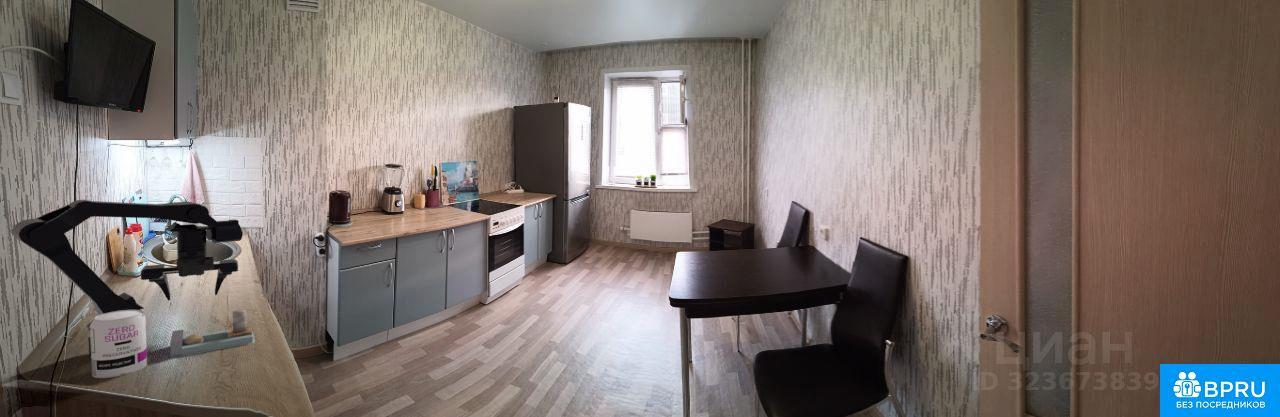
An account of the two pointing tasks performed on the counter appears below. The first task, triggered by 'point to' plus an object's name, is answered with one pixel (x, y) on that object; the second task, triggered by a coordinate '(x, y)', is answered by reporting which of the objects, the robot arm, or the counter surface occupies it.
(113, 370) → the supplement can
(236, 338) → the board
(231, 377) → the counter surface
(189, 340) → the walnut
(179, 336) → the grey angular block
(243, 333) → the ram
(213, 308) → the counter surface
